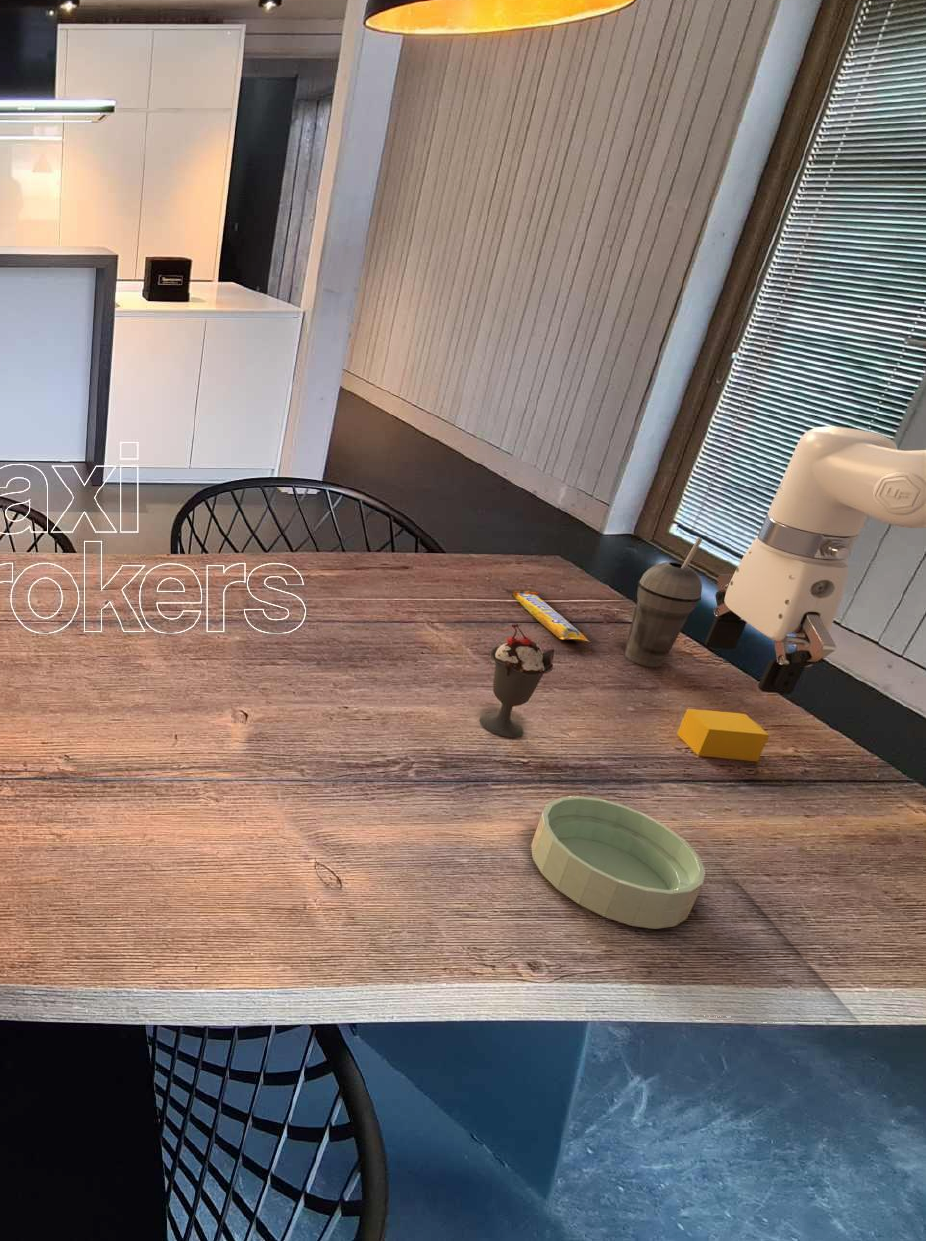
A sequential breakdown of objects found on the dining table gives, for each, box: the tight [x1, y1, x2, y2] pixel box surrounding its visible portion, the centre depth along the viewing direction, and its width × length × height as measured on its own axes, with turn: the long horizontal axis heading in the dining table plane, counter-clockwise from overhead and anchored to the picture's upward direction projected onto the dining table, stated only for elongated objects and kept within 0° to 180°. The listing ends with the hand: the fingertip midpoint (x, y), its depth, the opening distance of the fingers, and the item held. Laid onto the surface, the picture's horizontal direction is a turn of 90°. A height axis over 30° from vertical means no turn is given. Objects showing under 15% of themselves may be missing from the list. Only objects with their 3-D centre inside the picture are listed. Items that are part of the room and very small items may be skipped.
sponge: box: [676, 708, 770, 763], centre depth 101 cm, size 6×4×4 cm
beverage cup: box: [624, 537, 703, 668], centre depth 118 cm, size 7×7×20 cm
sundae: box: [479, 623, 555, 739], centre depth 103 cm, size 7×7×15 cm
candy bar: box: [512, 590, 593, 643], centre depth 132 cm, size 17×4×2 cm, turn 174°
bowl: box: [530, 795, 707, 930], centre depth 81 cm, size 13×13×5 cm
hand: (745, 668), depth 98 cm, fingers open, 9 cm apart
